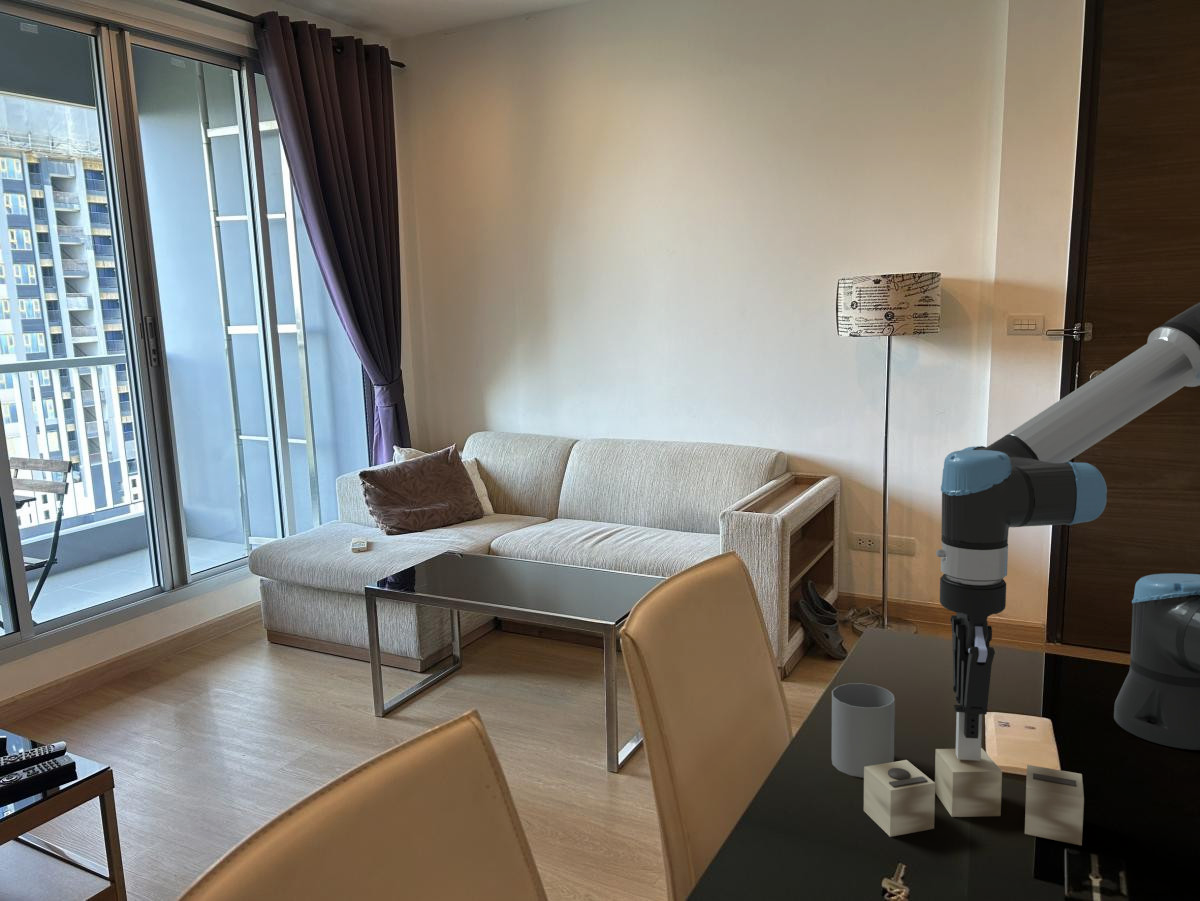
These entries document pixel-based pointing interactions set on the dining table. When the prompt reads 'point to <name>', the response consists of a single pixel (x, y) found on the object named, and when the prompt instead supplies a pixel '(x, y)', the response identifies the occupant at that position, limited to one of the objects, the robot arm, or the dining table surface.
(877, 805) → the striped block
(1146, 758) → the dining table surface
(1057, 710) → the dining table surface
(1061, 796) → the striped block
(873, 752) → the cup
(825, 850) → the dining table surface
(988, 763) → the plain block
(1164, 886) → the dining table surface
